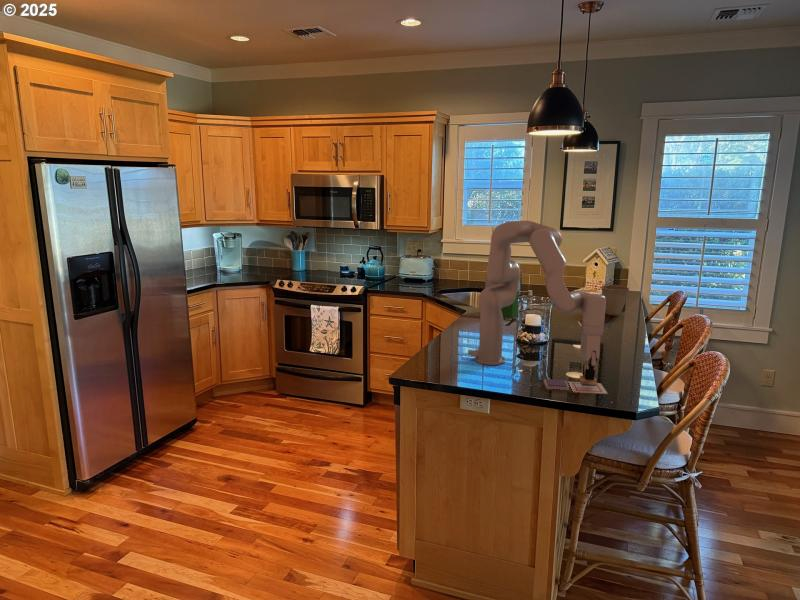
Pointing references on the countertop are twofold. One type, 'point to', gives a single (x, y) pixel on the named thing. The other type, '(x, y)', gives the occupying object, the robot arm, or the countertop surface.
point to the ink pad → (556, 384)
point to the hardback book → (509, 310)
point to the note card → (587, 388)
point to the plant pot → (614, 298)
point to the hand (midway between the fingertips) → (588, 377)
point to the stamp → (587, 382)
